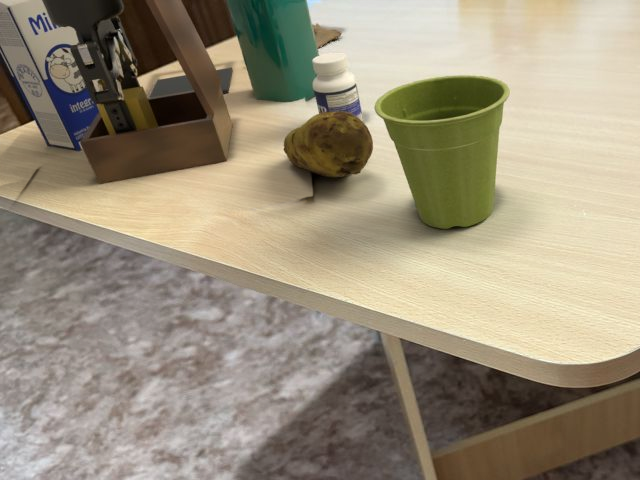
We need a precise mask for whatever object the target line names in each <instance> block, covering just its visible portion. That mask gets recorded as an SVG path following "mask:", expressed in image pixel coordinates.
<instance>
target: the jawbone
mask: <svg viewBox="0 0 640 480" xmlns="http://www.w3.org/2000/svg"><path fill="white" fill-rule="evenodd" d="M312 26H313V31H314V35H315V40H316V44H317V48H318V49H319V48H321V47H323V46H325V45H326V44H328V43H329V42H331V41H333V40H335V39H337V38H340V37H341V36H342V35H343V33H342V31H340V30H338V29H335V28H334V29H333V28H332V29H331V28H325V27H322V26H320V24H319V23H317V22H316V23H315V24H313V23H312Z"/></svg>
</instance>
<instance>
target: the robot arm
mask: <svg viewBox="0 0 640 480" xmlns="http://www.w3.org/2000/svg"><path fill="white" fill-rule="evenodd" d="M42 1H43V4H44V6H45V8H46V10H47V12H48V15H49V17H50V19H51V21H52V23H53V24H55V25H56V26H60V27H67V26H69V27H72V28H74V30H75V31H76V35H77V38H78V41H79V43H77V45H71V46H70V51H71V53H72V55H73V57H74V60H75V62H76V64H77V67H78V69H79V71H80V73H81V76H82V78H83V80H84V83H85V85H86V87H87V90H88V92H89V94H90V97H91V100H92V101H93V103H94V104H100V105H103V104H104V105H103V106H104V108H105V110H106V112H107V115H108V117H109V119H110V121H111V124H112V126H113V128H114V130H115V133H116V134H119V133H125V132H130V131H136V130H137V128H136V125H135V123H134V121H133V118H132V116H131V114H130V111H129V109H128V106H127V104H126V102H125V100H124V95H123V92H122V90H124V89H130V88H136V87H141V84H140V82H139V79H138V69H137V68H136V67H138V59H137V58H136V56H135V53H134V51H133V49H132V47H131V44H130V41H129V39H128V37H127V34H126V32H125V30H124V27H123V24H122V22H121V18H120V17H119V16H120V15H122V13H123V11H124V9H125V5H124V3H123V0H42ZM104 85H105V86H106V87H105V88H106V89H104V88H103V86H104Z"/></svg>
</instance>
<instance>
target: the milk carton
mask: <svg viewBox="0 0 640 480" xmlns="http://www.w3.org/2000/svg"><path fill="white" fill-rule="evenodd" d="M77 43H79V41H78V38H77V35H76V31H75V30H74V28H72V27H69V26H67V27H60V26H56V25H55V24H53V23H52V21H51V19H50V17H49V15H48V12H47V10H46V8H45V6H44V4H43V1H42V0H0V54H1V57H2V58H3V60H4V62H5V64H6V67H7V68H8V70H9V73H10V74H11V76H12V78H13V80H14V82H15V84H16V86H17V89H18V90H19V92H20V95H21V96H22V98H23V100H24V102H25V104H26V106H27V108H28V110H29V112H30V114H31V115H32V118H33V120H34V123H35V124H36V126H37V128H38V130H39V132H40V134H41V136H42V138H43V139H44V142H45V144H46V146H47V147H52V148H58V149H64V150H70V151H76V152H81V151H84V150H83V148H82V146H81V144H80V142H81V140H82V138H83V136H84V135H85V133H86V132H87V130H88V128H89V127H90V125H91V124H92V122H93V120H94V119H95V117H96V115H97V114H98V112H99V109H98V107H97V104H94V103H93V101H92V100H91V97H90V94H89V92H88V90H87V87H86V85H85V83H84V80H83V78H82V76H81V73H80V71H79V69H78V67H77V64H76V62H75V60H74V57H73V55H72V53H71V51H70V46H71V45H77Z"/></svg>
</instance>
